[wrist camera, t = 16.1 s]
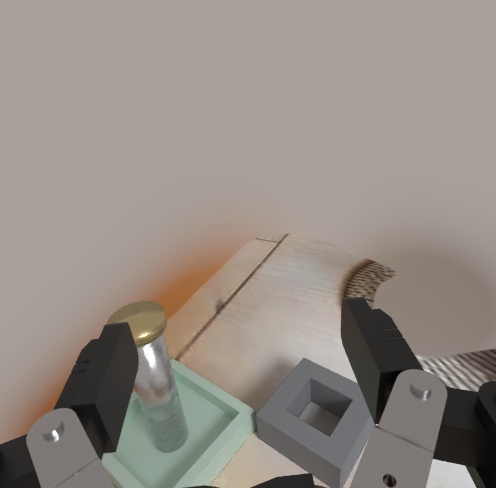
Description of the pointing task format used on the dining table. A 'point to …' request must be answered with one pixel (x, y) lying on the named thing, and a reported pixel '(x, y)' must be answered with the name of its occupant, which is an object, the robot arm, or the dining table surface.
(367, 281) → the dining table surface
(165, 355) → the steel pin
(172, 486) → the tray
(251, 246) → the dining table surface
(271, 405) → the socket block
